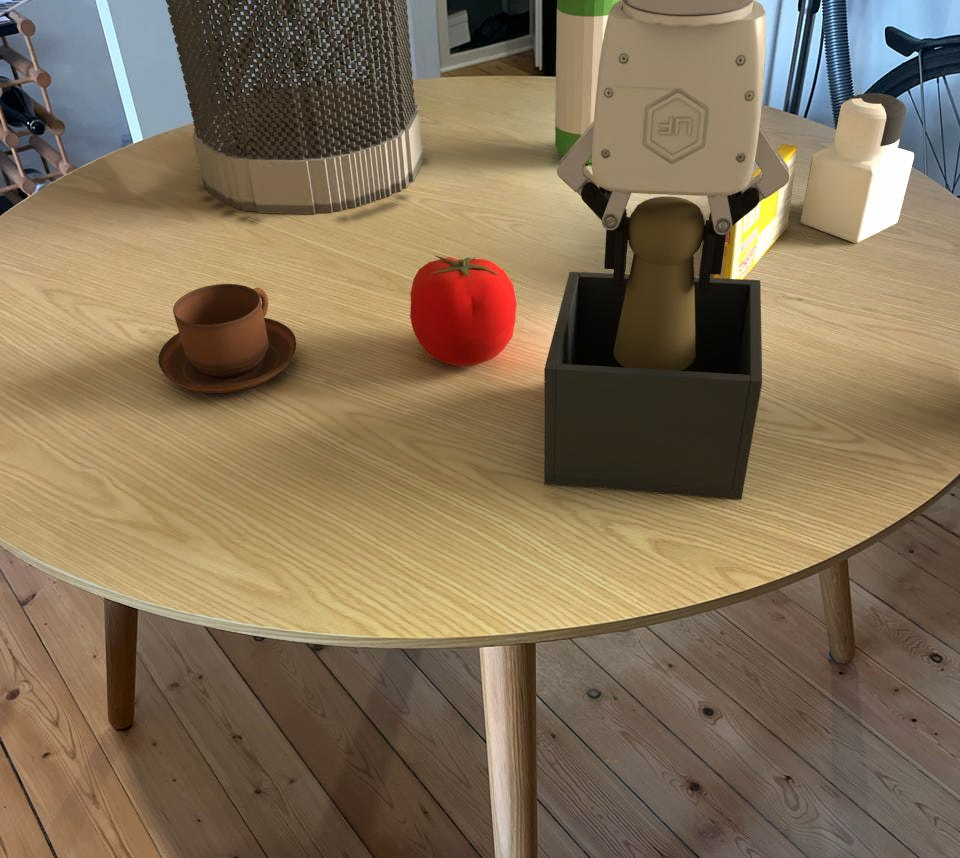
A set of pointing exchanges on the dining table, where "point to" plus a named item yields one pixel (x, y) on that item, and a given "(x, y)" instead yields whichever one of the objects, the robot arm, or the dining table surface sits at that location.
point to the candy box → (759, 225)
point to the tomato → (462, 310)
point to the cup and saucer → (225, 340)
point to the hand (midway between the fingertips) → (661, 277)
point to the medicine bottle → (860, 171)
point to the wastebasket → (299, 102)
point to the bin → (652, 396)
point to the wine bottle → (577, 67)
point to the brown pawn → (660, 286)
